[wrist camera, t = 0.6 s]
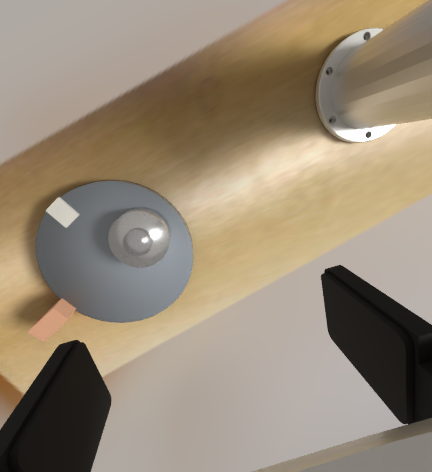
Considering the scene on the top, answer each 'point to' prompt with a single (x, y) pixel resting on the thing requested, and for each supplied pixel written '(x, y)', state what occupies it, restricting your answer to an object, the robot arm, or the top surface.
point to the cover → (140, 237)
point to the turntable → (106, 257)
